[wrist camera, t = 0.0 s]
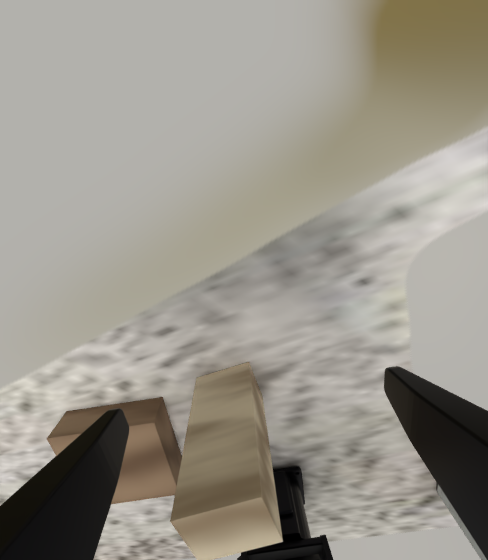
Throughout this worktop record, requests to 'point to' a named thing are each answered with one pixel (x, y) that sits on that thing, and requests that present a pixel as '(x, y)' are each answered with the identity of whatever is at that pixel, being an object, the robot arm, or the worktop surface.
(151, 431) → the walnut block
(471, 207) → the worktop surface
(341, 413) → the worktop surface
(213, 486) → the ash block
